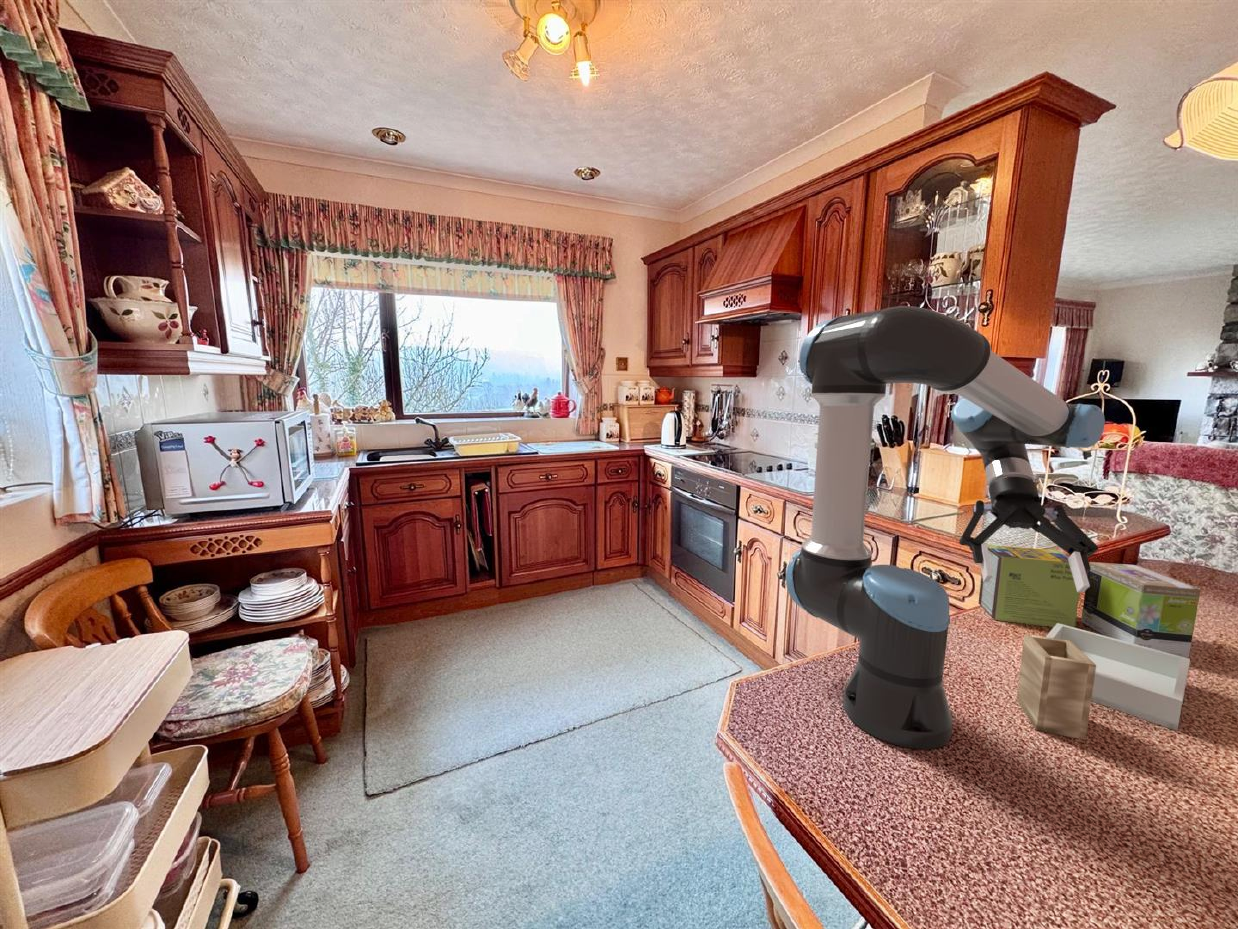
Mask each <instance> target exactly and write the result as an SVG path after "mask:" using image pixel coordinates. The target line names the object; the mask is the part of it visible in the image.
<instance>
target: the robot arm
mask: <svg viewBox="0 0 1238 929" xmlns="http://www.w3.org/2000/svg"><path fill="white" fill-rule="evenodd" d="M798 357H799V359H798V361H799V362H798V363H799V369H800V372H801V373H802V374H804V375H803V378H804V379H805V381H806V382H807V383H809V384H810V385H811V396H812V398H813V399H814V400H816V401H817V403H818V404H819V413H818V414H819V415H818V427H817V428H818V429H817V444H816V445H817V446H816V461H815V472H814V473H815V474H814V486H813V488H814V489H813V500H812V501H813V504H812V517H811V533H810V536H809V537H808V538H806V540H804V541H803V542H802V543H801V546H800V548H801V549H800V550H798V551H797V552H795V553H794V554H793V556H792V557H791V558H792V561H789V562H788V565H787V567H786V571H785V584H786V590H787V592H788V594H789V597H790V598H791V600H792V601H793V602H794V603H795V604H796V605H797V606H798V607H799V608H801V609H802V610H804V611H806V612H807V613H808V614H809V615H811V616H812V617H815V618H817V619H820V620H822V621H824V622H826V623H827V624H830V625H831V626H833V627H835V628H837V629H839V630H840V631H843V632H845V633H847V634H849V635H851V636H853V638H854V637H855V638H856V639H858V640H859V643H858V644H859V645H858V659H857V663H856V665H855V667H854V669H853V672H852V673H851V675H850V677H849V680H848V682H847V684H846V685H845V688H844V690H843V700H842V701H843V702H842V705H843V709H844V712H845V713H846V716H848V719H850V720H851V722H853V723H854V724H855V725H856V726H858V727H859V728H860V729H862V730H863V732H866V733H867V734H870V735H871V736H873V737H875V738H877V739H879V740H882V741H884V742H887V743H889V744H892V745H896V746H898V747H903V748H908V749H916V750H933V749H937V748H941V747H943V746H945V745H947V744H948V743H949V742H950V740H951V738H952V732H953V722H954V721H953V717H952V713H951V708H950V707H949V706H950V705H949V703H948V699H947V695H946V692H945V687H944V685H943V684H944V683H943V680H944V670H945V661H946V652H947V643H948V633H949V626H950V623H951V615H950V597H949V595H948V593H947V591H946V589H945V588H944V587H943V586H942V585H941V584H940V583H939V582H938V581H936V580H934V579H933V578H931V577H929V576H928V575H926V574H923V573H921V572H919V571H916V570H913V569H911V568H907V567H904V568H902V567H899V565H898V566H897V565H891V564H874V565H872V559H873V558H872V557H873V556H872V555H873V552H872V550H870V548H869V547H868V546H867V545H866V544H865V542H864V534H865V523H866V511H867V510H866V509H867V497H868V487H869V486H868V485H869V474H870V462H871V453H872V452H871V451H872V439H873V438H872V437H873V427H874V416H875V414H874V412H875V406H876V405H877V404H878V403H879V402H880V401H881V400H882V399H884V398H885V397H886V392H887V391H886V390H887V384H888V385H889V384H920V385H924V386H925V385H926V386H928V387H930V388H932V389H934V390H936V391H940V392H953V393H955V394H956V395H958V396H960V397H962V398H961V399H960V400H958V401H957V402H956V403H955V404H954V405H953V407H952V409H951V413H950V415H951V420H952V421H953V423H954V424H955V426H956V427H957V430H958V431H959V432H961V433H962V435H963V436H965V438H966V439H967V440H968V441H969V442H970V443H971V444H972V445H973V447H974V449H975V450H976V451H977V452H978V453H979V454H980V456H981V460H982V463H983V469H984V474H985V479H986V483H987V484H986V485H987V487H988V494H989V500H990V503H991V504H988V503H985V502H984V501H982V500H981V499H980V500H979V499H978V500H977V501H976V503H975V504H974V506H973V508H972V512H973V513H972V514H973V515H972V517H971V519H970V520H969V522H968V524H967V526H966V527H965V530H964V531H963V533H962V534H961V537H960V539H959V540H958V544H959V545H961V546H968V547H969V551H971V553H972V559H973V562H974V563H975V564H979V566H980V572H981V575H982V577H983V582H989V581H990V579H991V578H992V576H993V575H992V569H991V564H990V558H989V553H988V548H987V545H988V544H987V543H985V542H986V541H987V540H988V539H989V538H991V537H992V536H993V535H994V534H995V533H996V532H997V531H998V530H1000V529H1001V528H1002V527H1003V526H1006V527H1008V528H1010V529H1017V528H1019V529H1023V530H1030V529H1032V530H1034V531H1035V532H1036V533H1039V534H1042V535H1043V536H1044V537H1045V538H1047V539H1048V540H1049V541H1051V542H1052V543H1054V544H1055V545H1056V546H1058V547H1059V548H1060V549H1062V550H1063V551H1065V552H1066V553H1067V554H1068V555H1069V556H1070V557H1069V558H1068V561H1069V565H1070V568H1071V572H1072V575H1073V579H1074V582H1075V586H1076V589H1077V592H1080V593H1083V594H1084V593H1085V590H1086V589H1087V588H1089V587H1090V585H1089V581H1088V578H1087V575H1088V572H1089V571H1090V565H1089V560H1088V559H1089V557H1092V556H1093V555H1094V554H1096V552H1098V550H1099V546H1098V544H1096V543H1095V542H1094V541H1093V540H1092V539H1091V538H1090V537H1089V536H1088V535H1087V534H1086V533H1085V532H1084V531H1083V529H1081V527H1079V526H1078V525H1077V524H1076V523H1075V522H1074V521H1073V519H1072V518H1071V517H1069V516H1068V515H1067V513H1066V511H1065V509H1064V507H1063V506H1062V505H1058V504H1057V505H1055V506H1054V507H1044V506H1043V505H1042V504H1041V498H1040V495H1039V491H1038V488H1037V484H1036V480H1035V477H1034V473H1033V469H1032V465H1031V463H1030V459H1029V454H1028V451H1027V447H1026V445H1035V446H1045V447H1060V448H1065V449H1069V448H1075V449H1076V448H1079V449H1080V448H1081V449H1083V448H1085V449H1086V448H1087V449H1088V448H1090V447H1093V446H1095V445H1096V444H1098V442H1099V441H1100V440H1101V438H1102V436H1103V433H1104V430H1105V423H1106V419H1105V415H1104V412H1103V410H1102V409H1101V408H1100V407H1099V406H1097V405H1095V404H1082V403H1075V404H1071V403H1068V402H1067V401H1065V400H1063V399H1062V398H1061V397H1059V396H1057V394H1055V393H1054V392H1052V391H1050V390H1049V389H1048V388H1047V387H1045V386H1044V385H1042V384H1041V383H1039V382H1037V381H1036V380H1034V379H1033V378H1032V377H1030V376H1029V375H1027V374H1025V373H1024V372H1023V371H1022V370H1020V369H1018V368H1017V367H1016V366H1014V365H1012V364H1011V363H1010V362H1008V361H1006V360H1005V359H1004V358H1002V357H1001V356H1000V355H998V354H996V353H995V352H993V351H992V347H991V344H990V342H989V339H988V338H987V337H986V336H984V335H983V334H982V333H981V332H979V331H977V330H975V329H974V328H972V327H971V326H969V325H968V324H966V323H964V322H962V321H961V320H958V319H955V318H954V317H952V316H949V315H946V314H943V313H940V312H937V311H935V310H931V309H927V308H925V307H920V306H919V307H918V306H912V305H909V306H908V305H898V306H891V307H887V308H883V309H877V310H871V311H865V312H859V313H853V314H846V315H839V316H838V317H834V318H832V319H828V320H825V321H822V322H819V324H817V325H815V326H814V327H813V328H812V330H810V331H809V332H808V334H807V335H806V337H805V338H804V339H803V343H802V345H801V347H800V351H799V356H798ZM988 512H990V514H992V515H993V516H994V517H995V519H994V520H993V521H992V522H991V523H990V524H989V525H987V526H986V527H985V528H983V530H982V531H981V532H980V533H979V534H977V535H976V537H972V534H973V532H974V531H975V529H976V527H977V525H978V523H979V521H980V519H981V518H982V516H984V515H986V514H988ZM1046 516H1047V517H1048V518H1047V517H1046ZM1051 521H1053V523H1054V524H1055V525H1056V526H1055V525H1054V524H1053V523H1052V522H1051ZM1038 522H1039V523H1038ZM1080 593H1079V594H1080Z"/></svg>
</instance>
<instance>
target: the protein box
mask: <svg viewBox="0 0 1238 929" xmlns="http://www.w3.org/2000/svg"><path fill="white" fill-rule="evenodd" d="M987 548H988V553H989V558H990V564H991V569H992V575H993V576H992V578H991V579H990V581H989V582H983V577H982V574H981V575H980V576H981V577H980V586H979V594H978V604H979V606H981V608H982V609H984V611H985V612H986V613H987V614H988V615H989V616H990V617H991V618H992V619H994V621H1000V622H1006V623H1007V622H1008V623H1015V622H1017V623H1016V624H1023V623H1025V624H1026V625H1032V626H1041V627H1047V626H1049V628H1054V626H1055V625H1056V624H1057V623H1059V624H1063V625H1066V626H1070V627H1074V628H1076V623H1077V616H1078V614H1077V613H1078V606H1079V600H1080V592H1077V589H1076V586H1075V582H1074V579H1073V575H1072V572H1071V568H1070V565H1069V561H1068V558H1069V557H1070V556H1071V555H1069V554H1068V555H1067V554H1066V553H1064V552H1062V551H1061V550H1058V549H1045V548H1035V547H1034V548H1033V547H1023V546H1007V545H996V544H995V545H993V544H987ZM1025 624H1024V625H1025Z"/></svg>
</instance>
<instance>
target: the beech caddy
mask: <svg viewBox="0 0 1238 929" xmlns="http://www.w3.org/2000/svg"><path fill="white" fill-rule="evenodd" d="M1022 643H1023V644H1022V651H1021V658H1020V666H1019V667H1020V668H1019V676H1018V683H1017V684H1018V685H1017V692H1016V699H1015V700H1017V701H1016V703H1017V702H1018V703H1017V704H1018V705H1019V707H1020V708H1021V710H1022V711H1023V713H1024V714H1025V716H1026V717H1027V719H1028V720H1029V722H1030V723H1031V725H1032V727H1033V728H1034V729H1035V731H1038V732H1044V733H1048V734H1049V733H1050V734H1055V735H1059V736H1064V737H1070V738H1073V739H1079V740H1084V741H1086V740H1087V733H1088V726H1089V719H1090V713H1091V712H1090V711H1091V705H1092V701H1091V699H1092V692H1093V685H1094V678H1095V671H1096V664H1095V663H1093V662H1092V661H1091V660H1090V659H1089V658H1088V657H1087V656H1086V655H1085V654H1084V653H1083V652H1082V651H1081V650H1079V649H1078V648H1077V647H1076V646H1075V645H1074V644H1073V643H1072V642H1071V641H1069V640H1063V639H1056V638H1049V637H1046V636H1041V635H1035V634H1025V633H1024V634H1023V642H1022Z"/></svg>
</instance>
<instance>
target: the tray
mask: <svg viewBox="0 0 1238 929" xmlns="http://www.w3.org/2000/svg"><path fill="white" fill-rule="evenodd" d="M1045 637H1049V638H1056V639H1063V640H1069V641H1071V642H1072V643H1073V644H1074V645H1075V646H1076V647H1077V648H1078V649H1079V650H1081V651H1082V652H1083V653H1084V654H1085V655H1086V656H1087V657H1088V658H1089V659H1090V660H1091V661H1092V662H1093V663H1095V664H1096V671H1095V678H1094V685H1093V692H1092V699H1091V702H1093V703H1096V704H1099V705H1102V706H1105V707H1107V708H1110V709H1113V710H1116V711H1119V712H1121V713H1124V714H1128V715H1130V716H1133V717H1136V718H1138V719H1142V720H1144V721H1147V722H1151V723H1153V724H1156V725H1158V726H1161V727H1163V728H1167V729H1169V730H1173V731H1176V732H1178V730H1179V723H1180V718H1181V711H1182V707H1183V704H1184V703H1183V701H1184V697H1185V691H1186V687H1187V679H1188V675H1189V669H1190V662H1191V658H1189V657H1188V658H1185V657H1181V656H1177V655H1174V654H1170V653H1166V652H1162V651H1159V650H1155V649H1151V648H1148V647H1144V646H1140V645H1137V644H1133V643H1129V642H1126V641H1122V640H1118V639H1114V638H1111V637H1107V636H1104V635H1103V634H1101V633H1095V632H1092V631H1088V630H1085V629H1080V628H1078V627H1075V628H1074V627H1070V626H1066V625H1063V624H1059V623H1057V624H1056V625H1055V626H1054V627H1052V628H1051V630H1050V631H1049V632H1048V633H1047V635H1046V636H1045Z"/></svg>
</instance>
